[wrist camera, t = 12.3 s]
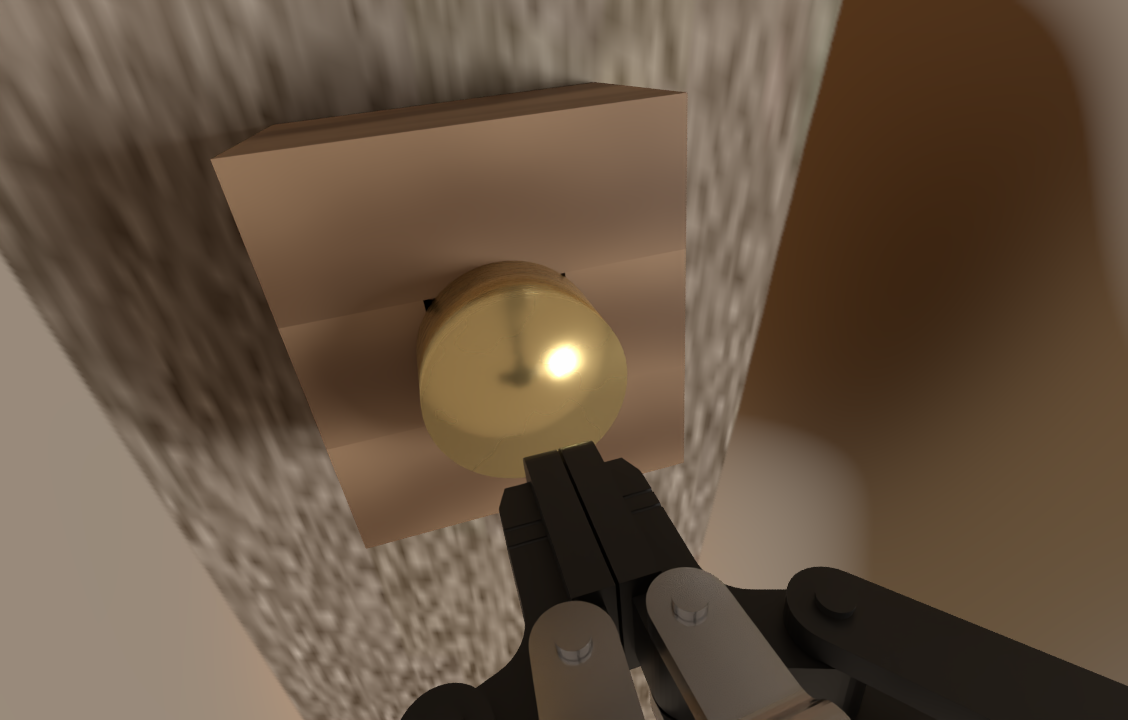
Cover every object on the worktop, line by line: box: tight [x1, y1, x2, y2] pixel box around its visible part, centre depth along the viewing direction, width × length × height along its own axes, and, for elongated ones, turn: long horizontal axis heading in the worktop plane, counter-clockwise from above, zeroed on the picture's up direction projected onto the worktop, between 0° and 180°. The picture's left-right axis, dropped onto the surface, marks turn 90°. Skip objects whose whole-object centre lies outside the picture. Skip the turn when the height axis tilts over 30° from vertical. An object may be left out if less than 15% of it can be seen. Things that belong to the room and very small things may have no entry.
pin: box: [416, 261, 627, 478], centre depth 19 cm, size 6×6×10 cm
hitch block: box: [210, 82, 687, 549], centre depth 21 cm, size 13×12×8 cm
